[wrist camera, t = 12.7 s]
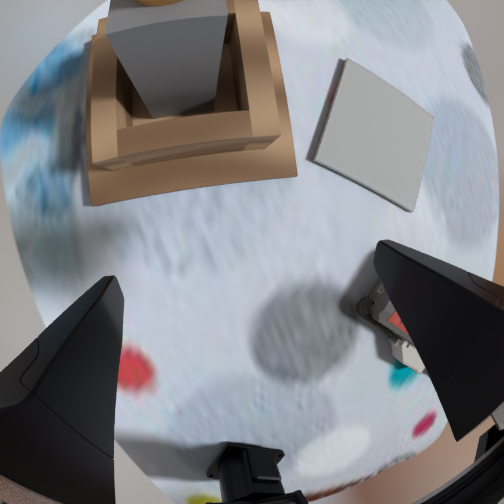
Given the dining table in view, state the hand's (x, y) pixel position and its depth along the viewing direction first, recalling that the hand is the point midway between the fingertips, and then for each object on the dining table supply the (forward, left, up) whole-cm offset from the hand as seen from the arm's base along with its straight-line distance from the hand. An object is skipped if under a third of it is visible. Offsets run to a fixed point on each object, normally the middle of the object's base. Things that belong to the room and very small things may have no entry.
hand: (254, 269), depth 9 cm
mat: (+13, -8, -11) cm, 18 cm away
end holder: (+8, +7, -11) cm, 15 cm away
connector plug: (+8, +7, -10) cm, 14 cm away
